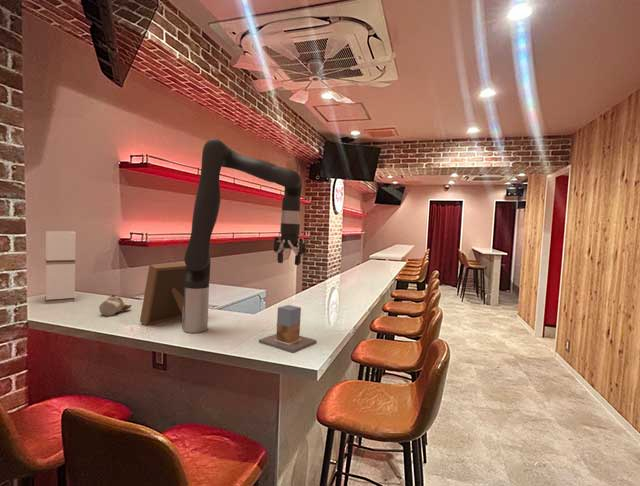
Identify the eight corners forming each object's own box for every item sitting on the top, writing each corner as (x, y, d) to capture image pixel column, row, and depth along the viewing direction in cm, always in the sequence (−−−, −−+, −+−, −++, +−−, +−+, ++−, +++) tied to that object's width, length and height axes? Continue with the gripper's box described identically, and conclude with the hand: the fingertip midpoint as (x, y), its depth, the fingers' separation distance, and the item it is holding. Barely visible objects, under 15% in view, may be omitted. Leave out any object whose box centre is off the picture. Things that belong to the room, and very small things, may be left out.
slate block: (277, 323, 126) (277, 307, 126) (287, 320, 131) (288, 304, 131) (289, 327, 123) (290, 310, 123) (300, 323, 128) (300, 307, 128)
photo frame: (139, 324, 142) (141, 263, 141) (184, 314, 161) (186, 260, 160) (162, 331, 134) (163, 267, 133) (206, 319, 153) (208, 263, 152)
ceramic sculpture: (92, 296, 149) (110, 292, 164) (91, 316, 149) (109, 310, 163) (118, 297, 150) (133, 293, 165) (117, 317, 150) (132, 311, 164)
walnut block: (276, 339, 127) (276, 323, 126) (286, 336, 132) (287, 320, 131) (288, 343, 123) (289, 326, 123) (299, 339, 128) (299, 323, 128)
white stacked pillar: (72, 297, 183) (73, 231, 181) (74, 301, 175) (75, 232, 173) (45, 299, 175) (46, 231, 174) (45, 304, 167) (46, 231, 166)
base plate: (258, 342, 126) (258, 339, 126) (283, 333, 138) (283, 331, 138) (292, 353, 117) (292, 349, 117) (316, 342, 129) (316, 339, 129)
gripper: (310, 223, 134) (308, 265, 135) (282, 222, 142) (281, 261, 143) (298, 222, 128) (296, 266, 129) (270, 221, 136) (268, 262, 137)
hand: (288, 263), depth 136 cm, fingers open, 8 cm apart
